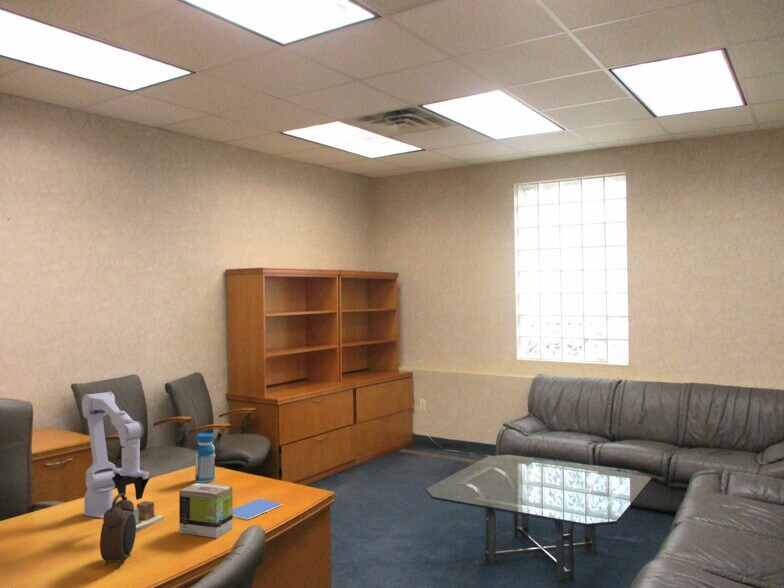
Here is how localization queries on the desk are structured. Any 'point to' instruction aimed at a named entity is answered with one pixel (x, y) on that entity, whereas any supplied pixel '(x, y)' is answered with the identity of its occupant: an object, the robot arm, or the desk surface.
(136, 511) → the grey block
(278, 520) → the desk surface
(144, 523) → the board
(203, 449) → the beverage bottle
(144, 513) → the walnut block
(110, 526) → the alarm clock
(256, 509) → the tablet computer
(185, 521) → the tea box
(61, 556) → the desk surface
